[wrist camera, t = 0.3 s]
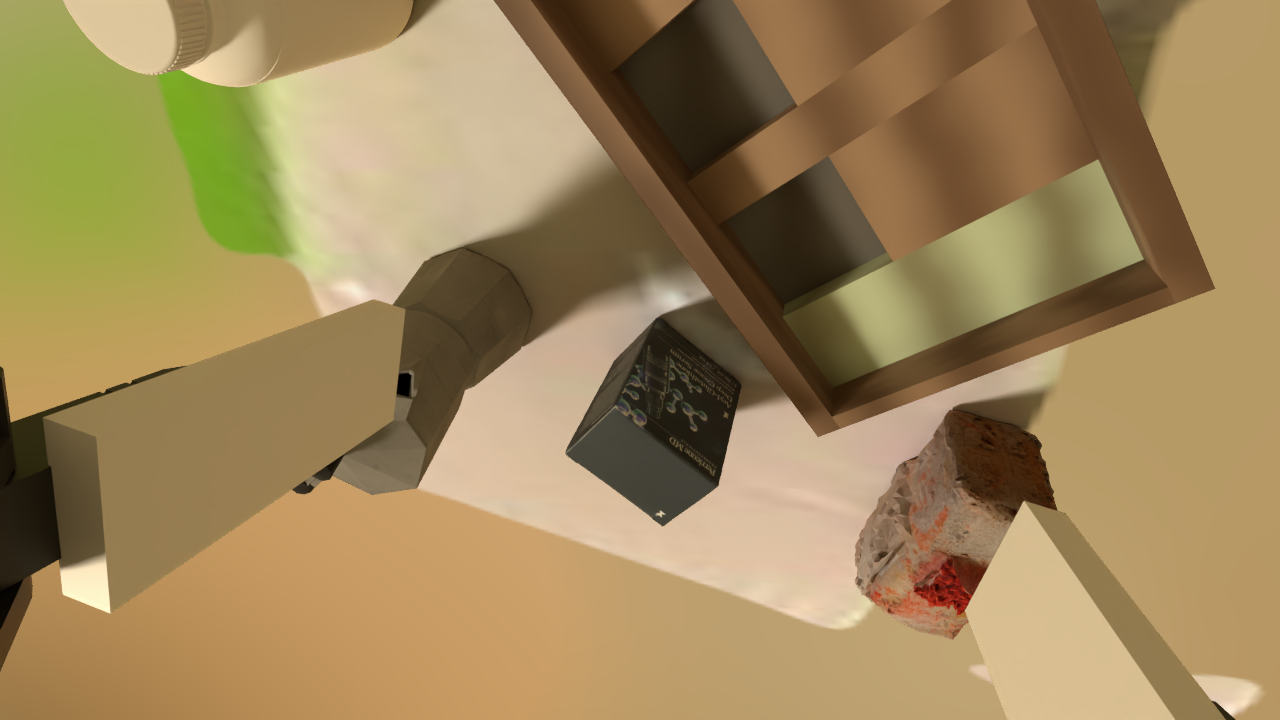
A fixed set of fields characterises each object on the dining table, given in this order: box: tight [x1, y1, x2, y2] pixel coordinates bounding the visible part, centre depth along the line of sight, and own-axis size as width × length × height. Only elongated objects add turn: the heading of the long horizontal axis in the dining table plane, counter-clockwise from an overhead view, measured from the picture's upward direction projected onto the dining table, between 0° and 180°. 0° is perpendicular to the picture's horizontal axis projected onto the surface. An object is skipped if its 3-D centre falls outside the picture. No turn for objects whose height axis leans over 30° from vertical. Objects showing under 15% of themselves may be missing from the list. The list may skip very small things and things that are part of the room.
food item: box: [855, 410, 1057, 639], centre depth 41 cm, size 14×8×10 cm, turn 169°
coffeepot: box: [292, 248, 532, 495], centre depth 40 cm, size 15×9×18 cm, turn 136°
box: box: [566, 317, 741, 526], centre depth 41 cm, size 8×6×11 cm
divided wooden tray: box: [494, 0, 1215, 437], centre depth 31 cm, size 20×34×5 cm, turn 39°
